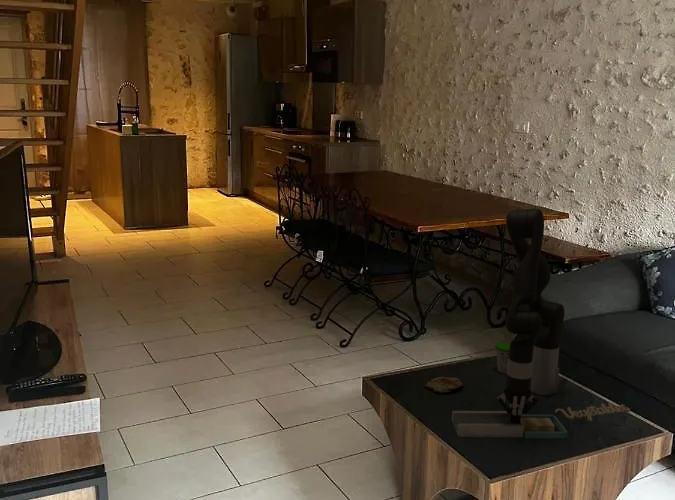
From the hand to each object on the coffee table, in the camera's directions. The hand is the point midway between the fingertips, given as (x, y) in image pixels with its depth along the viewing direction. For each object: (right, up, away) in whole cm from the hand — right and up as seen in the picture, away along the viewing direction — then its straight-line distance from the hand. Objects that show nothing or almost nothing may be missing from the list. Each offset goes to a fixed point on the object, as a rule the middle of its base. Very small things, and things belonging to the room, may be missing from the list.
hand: (514, 424), depth 205 cm
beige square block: (+4, -2, 0) cm, 4 cm away
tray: (+8, -2, +1) cm, 9 cm away
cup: (+9, +8, +48) cm, 49 cm away
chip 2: (+9, -2, 0) cm, 9 cm away
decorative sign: (+31, 0, +14) cm, 34 cm away
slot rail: (-9, -2, 0) cm, 9 cm away
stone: (-17, +4, +31) cm, 36 cm away
